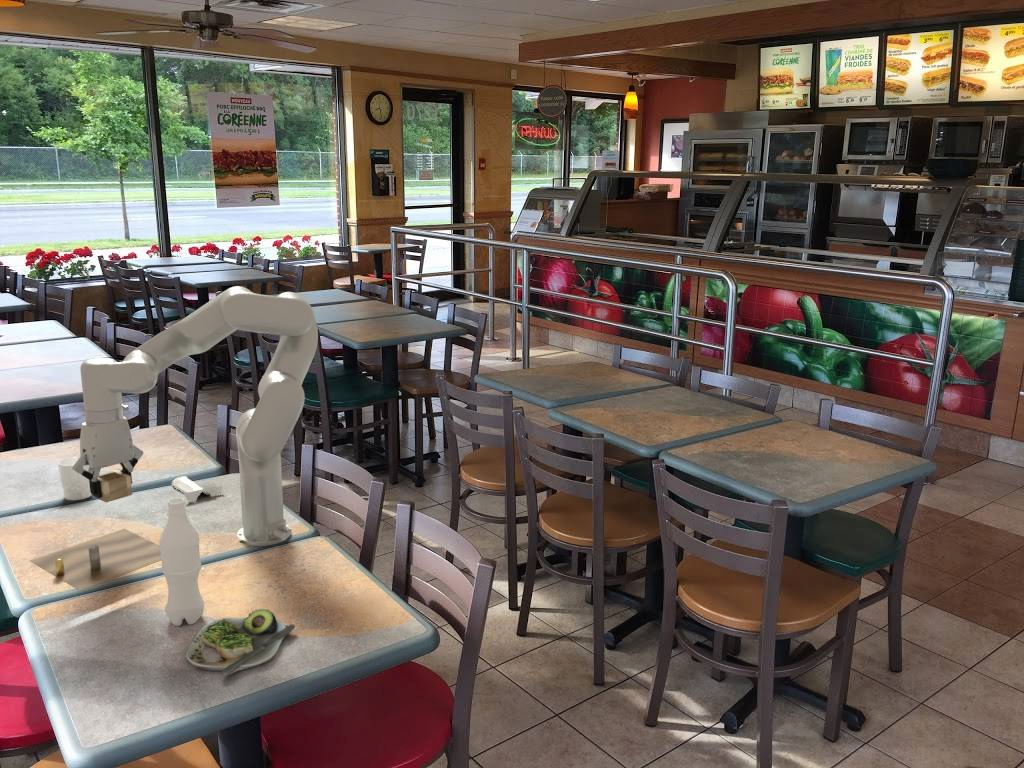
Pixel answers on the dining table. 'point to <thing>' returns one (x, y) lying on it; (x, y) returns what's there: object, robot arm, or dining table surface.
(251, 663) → the avocado toast plate
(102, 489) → the square frame with tab
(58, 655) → the dining table surface
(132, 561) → the board
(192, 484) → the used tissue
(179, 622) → the water bottle
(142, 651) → the dining table surface
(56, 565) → the dowel pin
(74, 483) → the white cup
